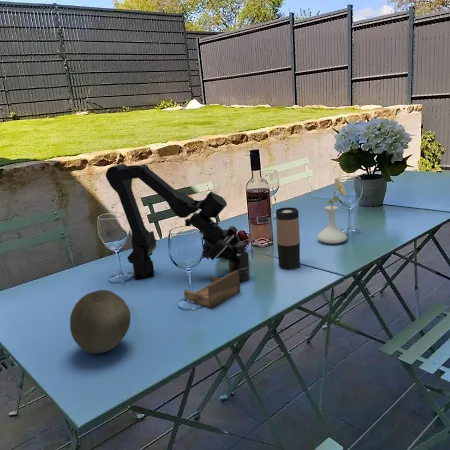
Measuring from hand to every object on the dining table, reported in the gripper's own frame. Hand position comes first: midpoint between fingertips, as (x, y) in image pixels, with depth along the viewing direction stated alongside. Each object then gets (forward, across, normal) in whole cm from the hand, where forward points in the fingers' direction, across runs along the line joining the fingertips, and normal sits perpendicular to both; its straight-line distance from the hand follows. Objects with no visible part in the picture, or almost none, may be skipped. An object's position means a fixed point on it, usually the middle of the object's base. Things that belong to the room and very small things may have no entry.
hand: (242, 259), depth 140 cm
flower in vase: (+24, -39, +15) cm, 48 cm away
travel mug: (+14, -12, +5) cm, 19 cm away
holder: (0, +14, -9) cm, 17 cm away
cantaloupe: (-13, +45, -23) cm, 52 cm away
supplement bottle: (+4, 0, -6) cm, 7 cm away
